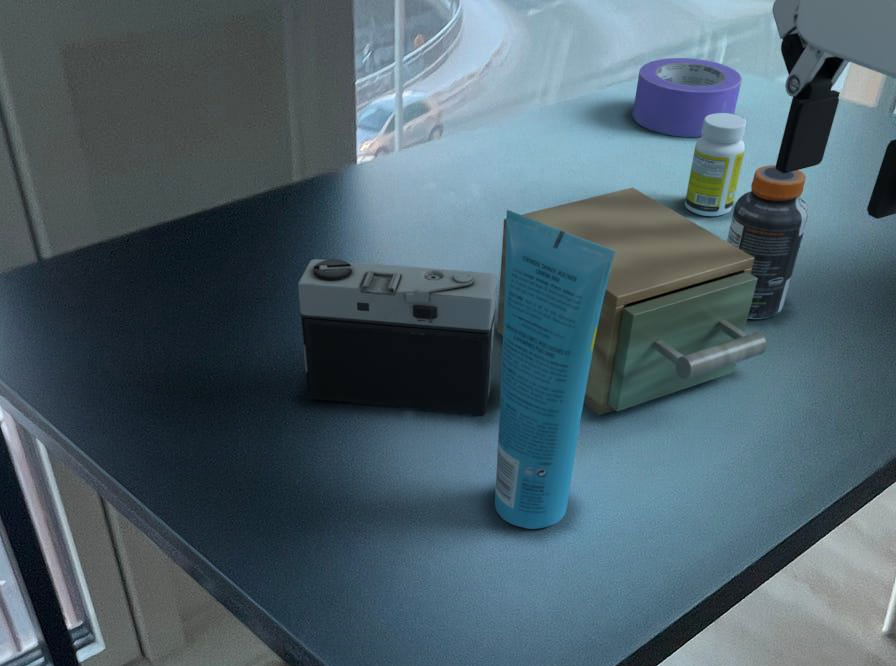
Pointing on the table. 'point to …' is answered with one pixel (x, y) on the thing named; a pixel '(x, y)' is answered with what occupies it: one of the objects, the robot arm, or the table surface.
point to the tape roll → (683, 94)
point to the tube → (544, 365)
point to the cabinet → (634, 264)
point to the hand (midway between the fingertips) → (842, 186)
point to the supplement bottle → (716, 165)
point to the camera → (398, 335)
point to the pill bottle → (770, 234)
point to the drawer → (683, 339)
